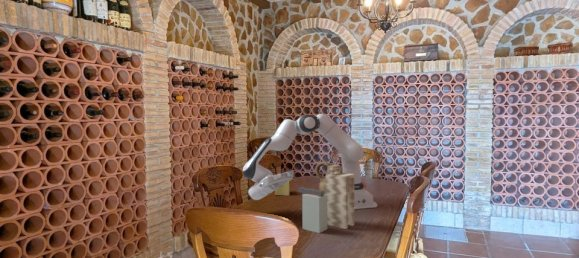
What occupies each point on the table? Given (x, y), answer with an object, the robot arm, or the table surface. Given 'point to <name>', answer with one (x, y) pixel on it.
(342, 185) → the beige patterned tall block
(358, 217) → the table surface
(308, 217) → the grey-green upright block
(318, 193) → the strip
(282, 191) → the cheese
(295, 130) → the robot arm
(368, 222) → the table surface
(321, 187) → the ceramic vessel
